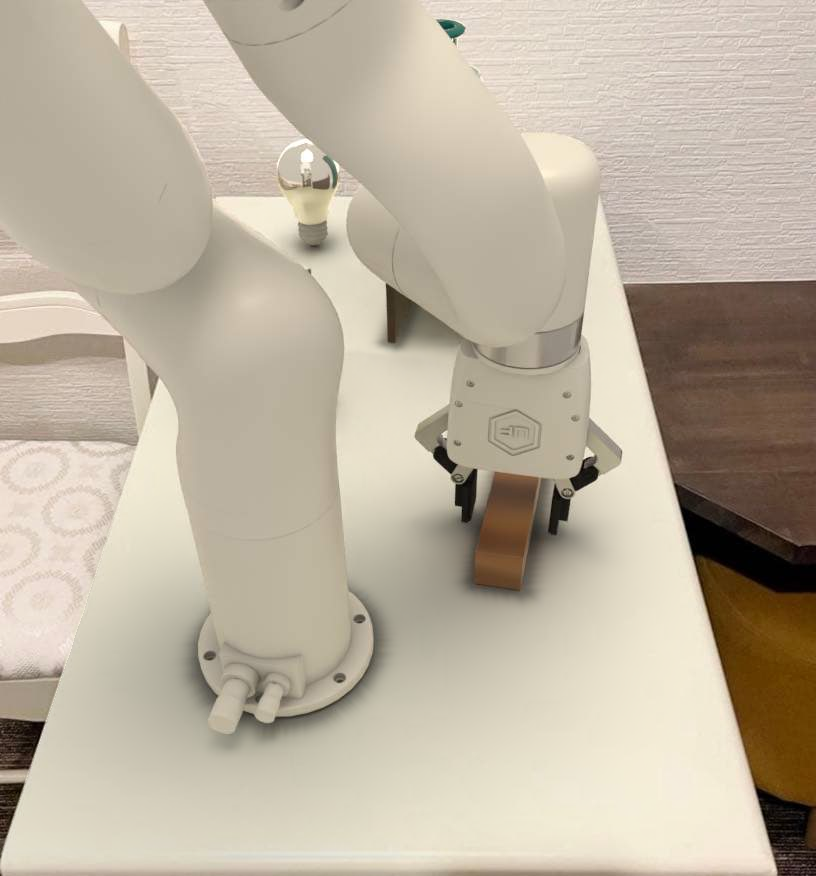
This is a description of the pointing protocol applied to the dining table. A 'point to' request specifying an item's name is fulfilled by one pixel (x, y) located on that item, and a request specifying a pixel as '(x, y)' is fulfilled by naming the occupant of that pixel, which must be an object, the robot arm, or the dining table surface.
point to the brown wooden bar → (506, 530)
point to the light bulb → (308, 187)
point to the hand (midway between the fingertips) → (511, 515)
